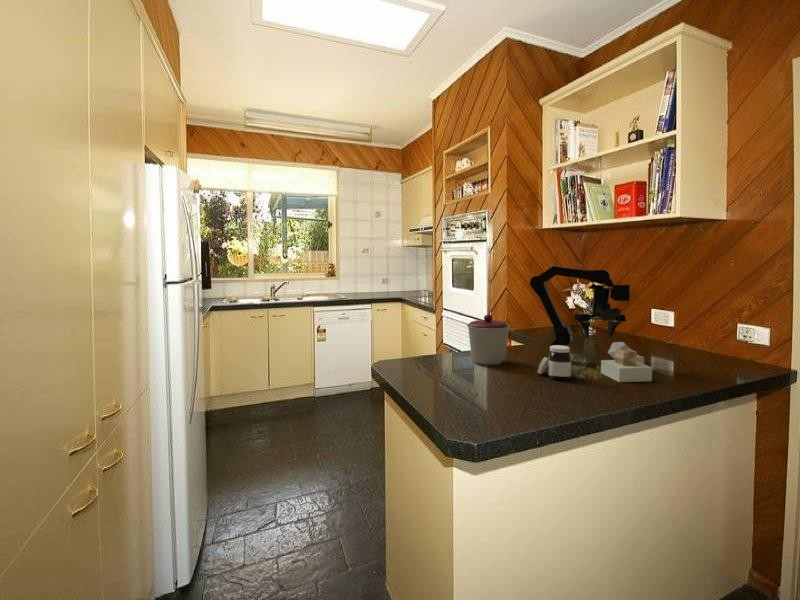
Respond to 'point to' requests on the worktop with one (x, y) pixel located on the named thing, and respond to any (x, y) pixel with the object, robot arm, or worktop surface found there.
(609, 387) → the worktop surface
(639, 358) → the grey cube
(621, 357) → the oak cube
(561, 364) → the spread jar
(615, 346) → the die
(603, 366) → the sage base block
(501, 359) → the canister
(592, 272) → the robot arm
